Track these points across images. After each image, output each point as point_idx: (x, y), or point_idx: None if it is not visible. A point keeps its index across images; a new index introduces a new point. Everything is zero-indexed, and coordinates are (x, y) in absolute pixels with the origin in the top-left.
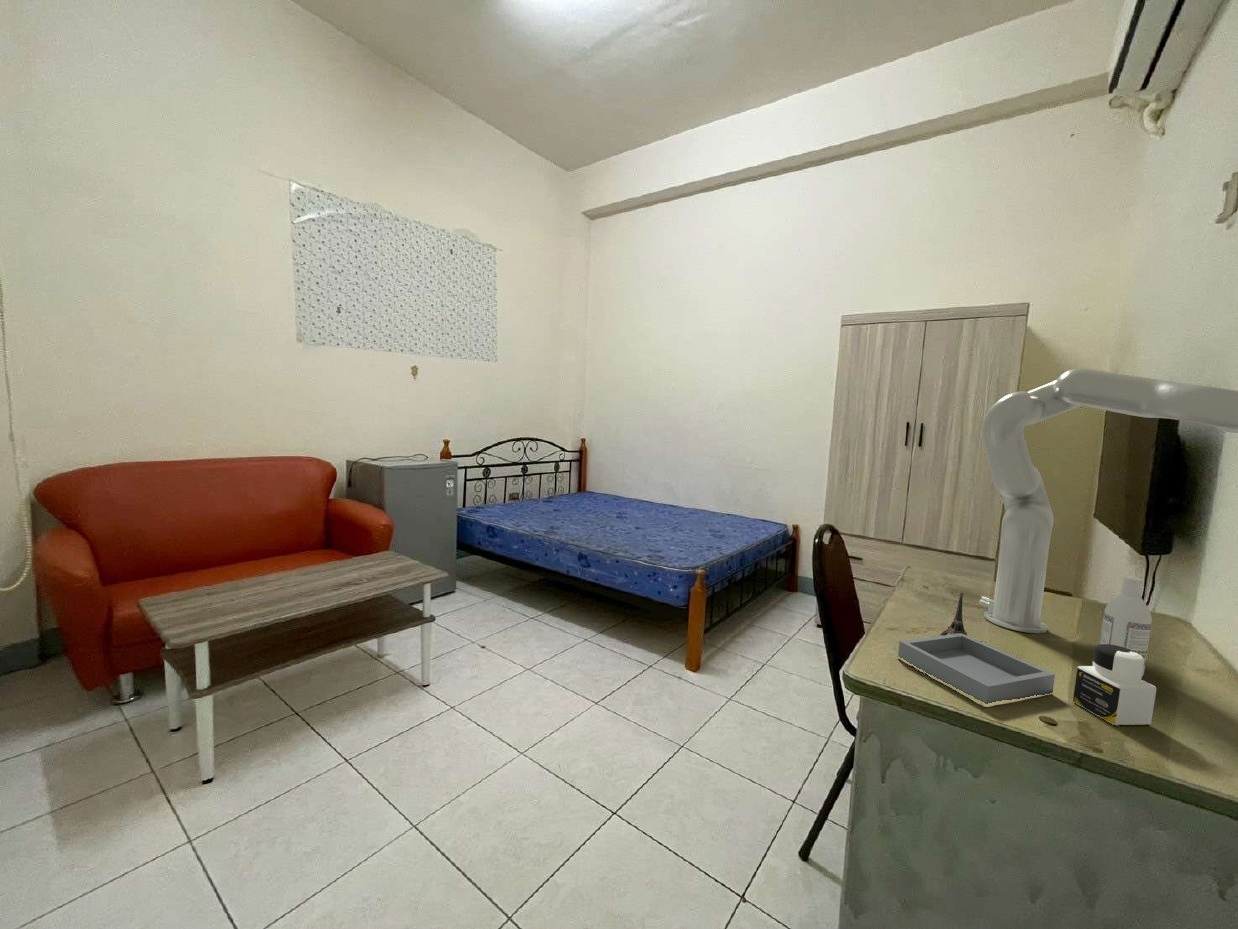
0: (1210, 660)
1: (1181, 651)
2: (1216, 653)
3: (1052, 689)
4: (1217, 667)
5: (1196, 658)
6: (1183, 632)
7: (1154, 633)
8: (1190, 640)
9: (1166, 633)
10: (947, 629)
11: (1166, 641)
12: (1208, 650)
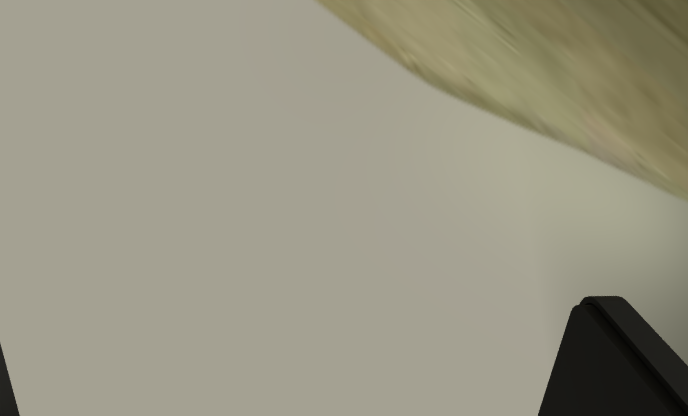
0: (445, 52)
1: (502, 6)
2: (514, 122)
3: None
4: (387, 27)
5: (449, 12)
6: (676, 152)
7: (655, 36)
8: (610, 121)
9: (660, 84)
10: None
11: (586, 22)
12: (534, 115)
